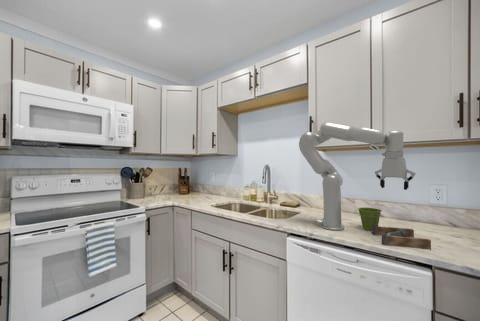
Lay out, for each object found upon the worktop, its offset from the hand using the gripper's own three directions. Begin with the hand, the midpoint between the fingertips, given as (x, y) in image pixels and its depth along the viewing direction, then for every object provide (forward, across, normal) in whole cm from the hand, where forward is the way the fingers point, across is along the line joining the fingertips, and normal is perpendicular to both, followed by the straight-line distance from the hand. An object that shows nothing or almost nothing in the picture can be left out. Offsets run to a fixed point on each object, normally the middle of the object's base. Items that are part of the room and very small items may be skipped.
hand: (393, 188), depth 109 cm
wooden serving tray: (+24, +3, -6) cm, 25 cm away
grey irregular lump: (+25, +2, -6) cm, 26 cm away
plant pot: (+25, -12, +5) cm, 28 cm away
